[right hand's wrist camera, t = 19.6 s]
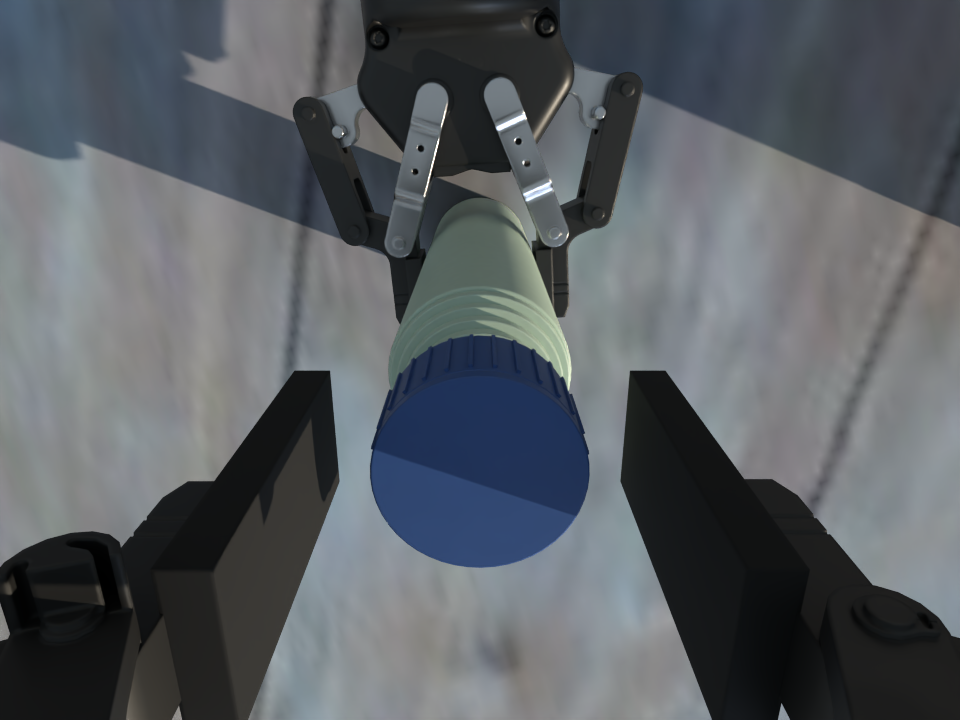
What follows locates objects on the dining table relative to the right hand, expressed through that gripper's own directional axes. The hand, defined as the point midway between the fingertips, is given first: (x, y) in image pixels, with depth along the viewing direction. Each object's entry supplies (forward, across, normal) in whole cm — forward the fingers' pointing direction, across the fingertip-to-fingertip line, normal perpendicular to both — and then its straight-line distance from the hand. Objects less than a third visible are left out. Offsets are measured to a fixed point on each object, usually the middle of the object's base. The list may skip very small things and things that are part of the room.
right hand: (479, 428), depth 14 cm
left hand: (+15, 0, -3) cm, 15 cm away
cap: (-2, 0, 0) cm, 2 cm away
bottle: (+22, 0, 0) cm, 22 cm away
